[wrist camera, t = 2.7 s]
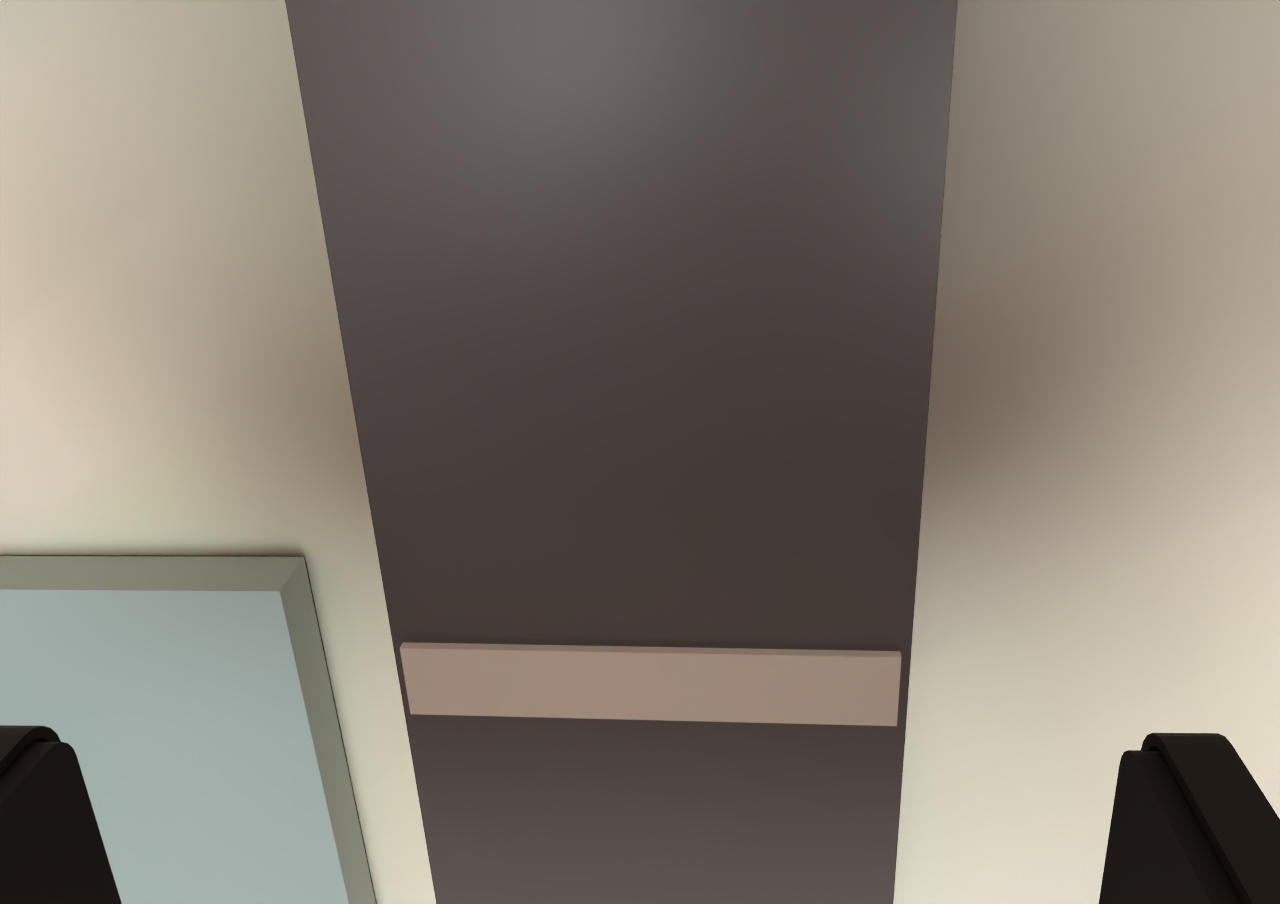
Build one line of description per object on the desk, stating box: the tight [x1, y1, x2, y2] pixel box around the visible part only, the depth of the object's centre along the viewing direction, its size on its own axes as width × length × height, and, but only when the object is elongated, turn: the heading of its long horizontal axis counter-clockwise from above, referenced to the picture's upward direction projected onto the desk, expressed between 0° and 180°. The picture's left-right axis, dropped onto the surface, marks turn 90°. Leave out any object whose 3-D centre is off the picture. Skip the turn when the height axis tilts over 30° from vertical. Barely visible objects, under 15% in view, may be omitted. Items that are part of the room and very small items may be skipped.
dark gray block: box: [285, 0, 957, 904], centre depth 14 cm, size 20×5×6 cm, turn 3°
